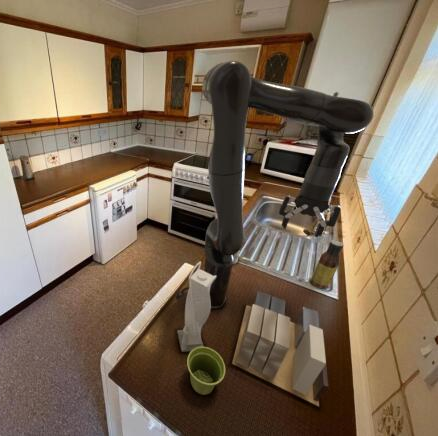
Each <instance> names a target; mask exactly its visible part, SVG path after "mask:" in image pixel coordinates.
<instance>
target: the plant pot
mask: <svg viewBox="0 0 438 436" xmlns="http://www.w3.org/2000/svg"><path fill="white" fill-rule="evenodd" d="M186 364H187V366H186V367H187V369H188V372H189V375H190V377H189V378H190V384H191V386H192V388H193V390H194V391H195V392H196V393H197V394H200V395H202V396H204V395H205V396H206V395H209V394H211V393H212V392H213V390H214V389H215V387H216V385H218V384H219V383H221V382H222V381H223V380H224V377H225V376H226V364H225V362H224V359H223V358H222V356H221V355H220V354H219V353H218V352H217V350H215V349H212V348H211V347H208V346H204V347H197V348H195V349H193V350H192V351H189V354H188V355H187V359H186Z"/></svg>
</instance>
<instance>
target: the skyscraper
mask: <svg viewBox="0 0 438 436" xmlns="http://www.w3.org/2000/svg"><path fill="white" fill-rule="evenodd" d="M201 264H202V261H201V260H200V261H198V262H197V263H196V264H195V266H194V267H193V268H192V269H191V272H190V274H189V276H188V283H189V286H188V287H189V289H187V294H186V300H185V305H184V306H185V307H184V327H183V329H178V330H176V333H177V338H178V342H179V347H180V350H181V352H182V353H187V352H191V351H192V350H193V349H195V348H197V347H205V346H204V343H203V340H202V336H201V335H202V328H203V326H204V324H206V322H207V320H208V318H209V317H210V314H211V309H212V308H211V300H210V294H209V293H210V287H211V284H212V283H213V281H214V280H215V279H216V275H215V276H213V275H211V274H209V273H207V272H205V271H203V270H204V269H201ZM195 269H196V271H195ZM194 271H195V272H194Z"/></svg>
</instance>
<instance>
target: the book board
mask: <svg viewBox="0 0 438 436" xmlns="http://www.w3.org/2000/svg"><path fill="white" fill-rule="evenodd" d="M285 313H286V300H285V299H282V298H280V297H276V296H273V295H271V294H268V293H265V292H262V291H259V290H257V292H256V295H255V297H254V301H253V304H252V305H251V306H250V305H248V304H246V306H245V309H244V314H243V318H242V322H241V326H240V330H239V334H238V339H237V343H236V346H235V351H234V354H233V359H232V363H231V364H232V365H234V366H236V367H238V368H239V369H242V370H244V371H246V372H248V373H249V374H251V375H254V376H256V377H258V378H260V379H262V380H264V381H266V382H268V383H271V384H272V385H275V386H277V387H279V388H281V389H282V390H284V391H287V392H289V393H291V394H292V395H294V396H296V397H299V398H300V399H303V400H305V401H307V402H309V403H311V404H313V405H315V406H317V407H320V400H321V398H322V397H323V396H324V394H325V393H326V392H327V390H328V389H329V378H328V377H329V376H328V367H327V363H326V364H325V366H324V367H323V369H322V370H321V372H320V373H319V375H318V377H317V378H316V380H315V381H314V383H313V384H312V386H311V387H310V389H309V390H308V392H307V393H306V395H304V394H302V393H300V392H298V391H296V390H294V389H292V383H293V355H294V353H295V351H296V349H297V348H298V346H299V344H300V342H301V340H302V338H303V336H304V334H305V332H306V330H307V328H308V326H309V325H312V326H314V327H317V328H320V319H319V312H318V311H316V310H314V309H311V308H308V307H305V306H303V307H302V308H301V310H300V313H299V314H298V316H297V318H296V320H295V322H293V321H291V317H289V316H286V314H285ZM325 358H326V355H325Z"/></svg>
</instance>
